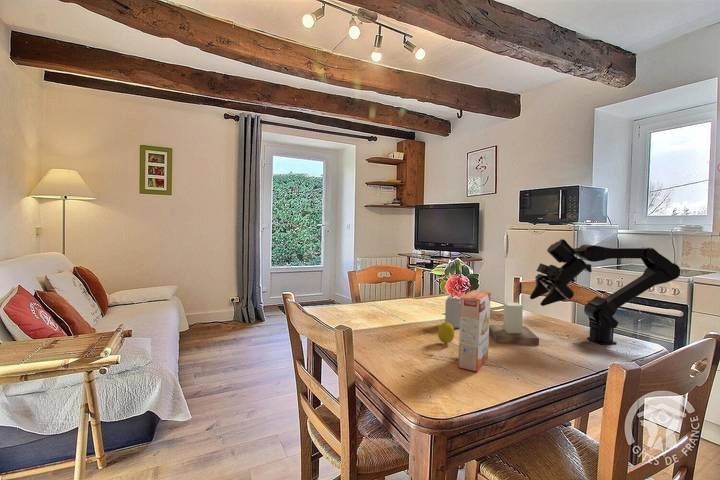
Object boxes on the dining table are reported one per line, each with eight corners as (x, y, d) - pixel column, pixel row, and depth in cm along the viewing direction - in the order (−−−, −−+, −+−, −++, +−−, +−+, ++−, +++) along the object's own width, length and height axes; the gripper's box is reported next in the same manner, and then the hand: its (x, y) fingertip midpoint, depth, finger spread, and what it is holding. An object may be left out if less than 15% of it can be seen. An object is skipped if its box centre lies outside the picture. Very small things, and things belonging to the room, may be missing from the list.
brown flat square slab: (525, 334, 135) (525, 326, 135) (538, 346, 121) (539, 338, 121) (487, 332, 137) (487, 324, 137) (496, 344, 123) (496, 336, 123)
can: (465, 329, 138) (465, 299, 137) (445, 328, 139) (446, 298, 139) (463, 324, 145) (464, 295, 145) (444, 323, 147) (445, 294, 146)
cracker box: (478, 373, 98) (480, 299, 97) (457, 368, 101) (459, 296, 100) (489, 357, 110) (491, 291, 109) (470, 353, 113) (471, 289, 112)
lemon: (457, 344, 121) (457, 321, 121) (449, 348, 117) (449, 324, 117) (442, 340, 125) (443, 318, 125) (434, 344, 121) (435, 321, 121)
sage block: (517, 329, 131) (517, 302, 131) (522, 333, 126) (522, 305, 126) (503, 328, 132) (503, 302, 131) (508, 333, 127) (508, 305, 126)
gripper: (541, 253, 135) (511, 281, 137) (565, 259, 117) (530, 291, 118) (561, 273, 135) (531, 301, 137) (589, 283, 117) (553, 315, 118)
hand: (535, 301), depth 128 cm, fingers open, 9 cm apart
